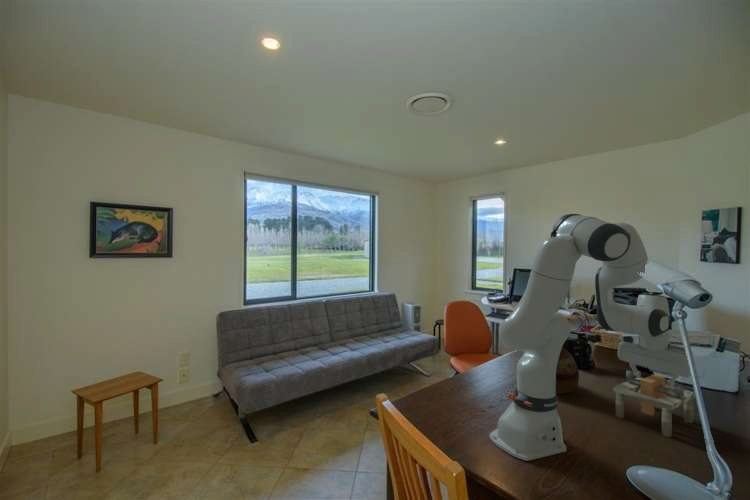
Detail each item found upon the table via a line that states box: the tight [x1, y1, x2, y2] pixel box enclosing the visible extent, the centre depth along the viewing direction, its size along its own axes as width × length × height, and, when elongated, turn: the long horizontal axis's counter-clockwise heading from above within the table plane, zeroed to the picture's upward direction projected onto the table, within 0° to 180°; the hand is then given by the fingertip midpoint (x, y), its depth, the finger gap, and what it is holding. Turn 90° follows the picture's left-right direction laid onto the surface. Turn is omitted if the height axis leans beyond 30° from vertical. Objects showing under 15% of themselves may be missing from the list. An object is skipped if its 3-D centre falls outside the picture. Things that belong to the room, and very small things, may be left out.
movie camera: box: [562, 329, 603, 371], centre depth 168 cm, size 31×18×18 cm, turn 37°
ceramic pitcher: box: [556, 347, 580, 394], centre depth 138 cm, size 20×20×30 cm
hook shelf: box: [613, 370, 696, 438], centre depth 111 cm, size 18×16×14 cm
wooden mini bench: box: [640, 373, 667, 417], centre depth 111 cm, size 10×3×11 cm, turn 118°
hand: (653, 380), depth 111 cm, fingers open, 8 cm apart
